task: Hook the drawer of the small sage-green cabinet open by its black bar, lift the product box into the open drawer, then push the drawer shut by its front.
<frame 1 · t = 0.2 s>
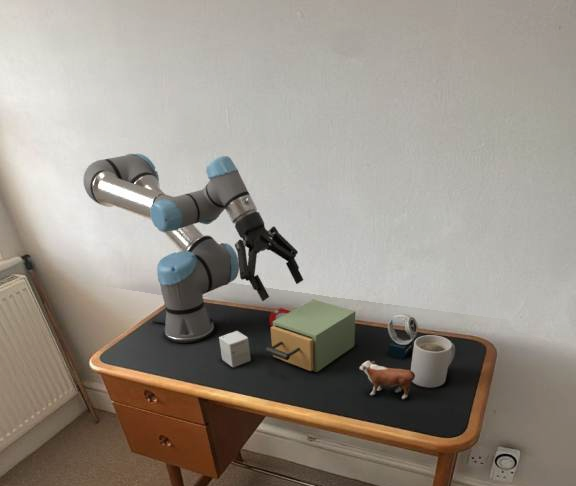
hand: (283, 290, 129), 16 cm above the table, tool tilted 35°, fingers open, 13 cm apart
drawer: (303, 341, 127), point 5 cm above the table, slide at 0.5 cm
product box: (236, 361, 131), on the table
watch: (400, 353, 130), on the table
bull figurine: (384, 393, 115), on the table
tracker holder: (287, 324, 148), on the table
mug: (431, 378, 119), on the table
cabinet: (315, 351, 133), on the table
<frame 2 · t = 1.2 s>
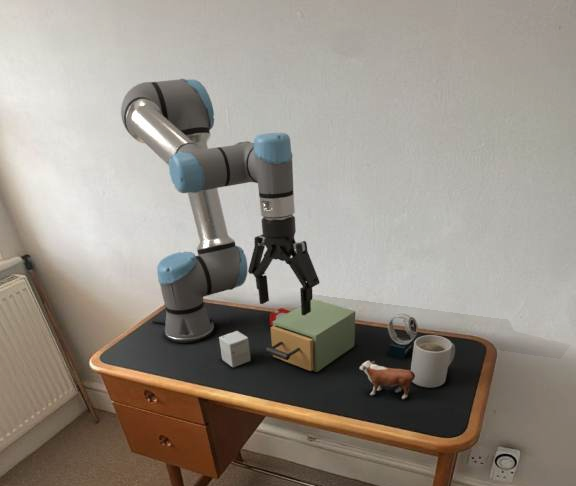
hand: (284, 307, 116), 17 cm above the table, tool pointing down, fingers open, 13 cm apart
nothing on the table moved.
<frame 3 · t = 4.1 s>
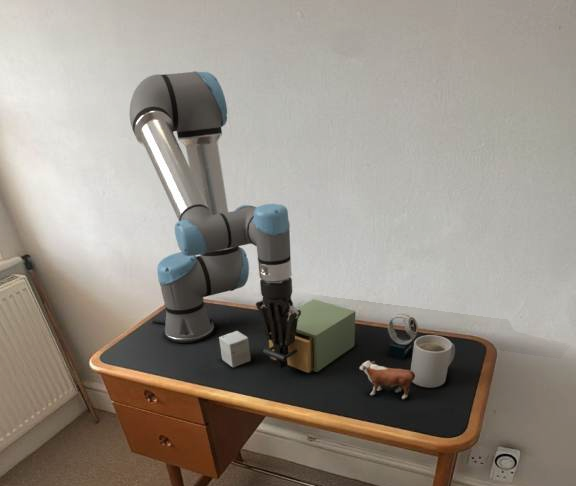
hand: (282, 365, 123), 2 cm above the table, tool pointing down, fingers closed
drawer: (300, 342, 126), point 5 cm above the table, slide at 1.6 cm
everything else where it was.
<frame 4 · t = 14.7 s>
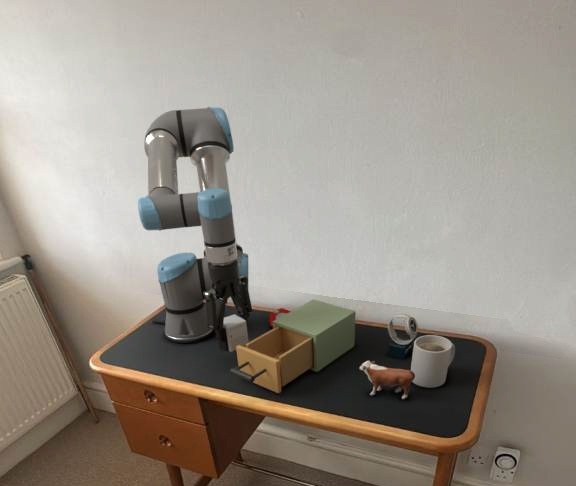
hand: (234, 343, 128), 5 cm above the table, tool pointing down, fingers closed on product box, 7 cm apart
drawer: (271, 361, 119), point 5 cm above the table, slide at 13.5 cm
product box: (234, 345, 129), point 5 cm above the table, touching gripper
everything else where it was.
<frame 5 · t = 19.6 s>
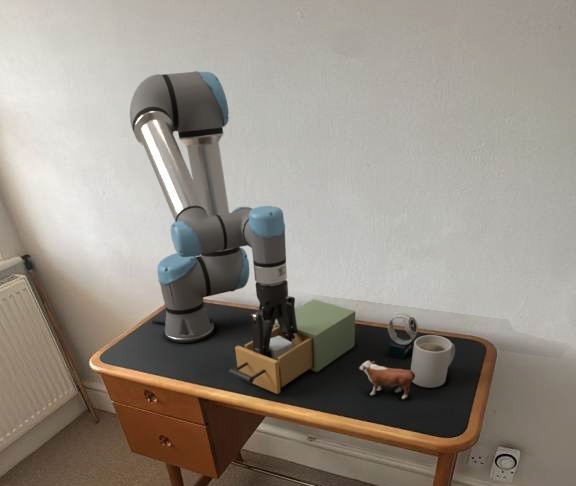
hand: (277, 366, 122), 3 cm above the table, tool pointing down, fingers closed on product box, 7 cm apart
drawer: (270, 361, 119), point 5 cm above the table, slide at 13.9 cm
product box: (278, 368, 122), point 2 cm above the table, touching gripper
everything else where it was.
when the fingers open (2 cm above the table, at t = 20.9 s): product box stays where it is, resting on drawer.
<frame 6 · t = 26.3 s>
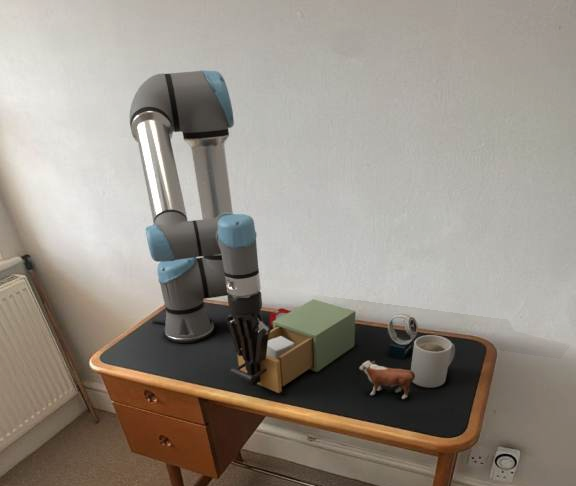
hand: (254, 382, 117), 2 cm above the table, tool pointing down, fingers closed
drawer: (271, 360, 119), point 5 cm above the table, slide at 13.4 cm, touching product box, gripper
product box: (280, 368, 123), point 2 cm above the table, touching drawer
everything else where it was.
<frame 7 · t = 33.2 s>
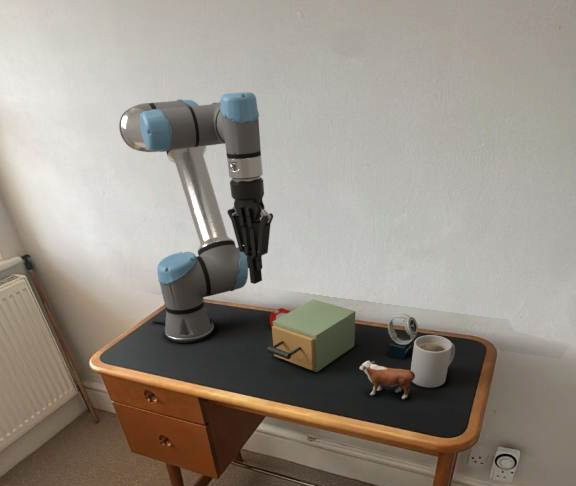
hand: (256, 281, 118), 22 cm above the table, tool pointing down, fingers closed
drawer: (304, 340, 127), point 5 cm above the table, slide at 0.0 cm, touching product box
product box: (311, 348, 131), point 2 cm above the table, touching drawer
everything else where it was.
at the end: drawer pulled out 14.2 cm at the most during the clip, back to where it started at the end; product box inside the target area in the cabinet (1.4 cm from its centre), point 1.9 cm above the cabinet's base; drawer slide at 0.0 cm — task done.
